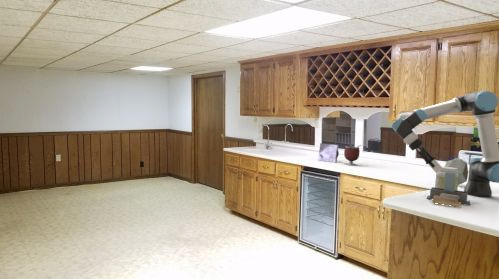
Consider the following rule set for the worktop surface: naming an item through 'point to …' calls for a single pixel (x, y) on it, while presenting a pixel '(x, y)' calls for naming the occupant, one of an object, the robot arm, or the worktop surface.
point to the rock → (459, 169)
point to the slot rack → (439, 191)
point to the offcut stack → (447, 199)
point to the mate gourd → (351, 154)
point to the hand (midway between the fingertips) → (439, 170)
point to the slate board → (449, 181)
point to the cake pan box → (328, 153)
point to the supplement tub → (441, 177)
